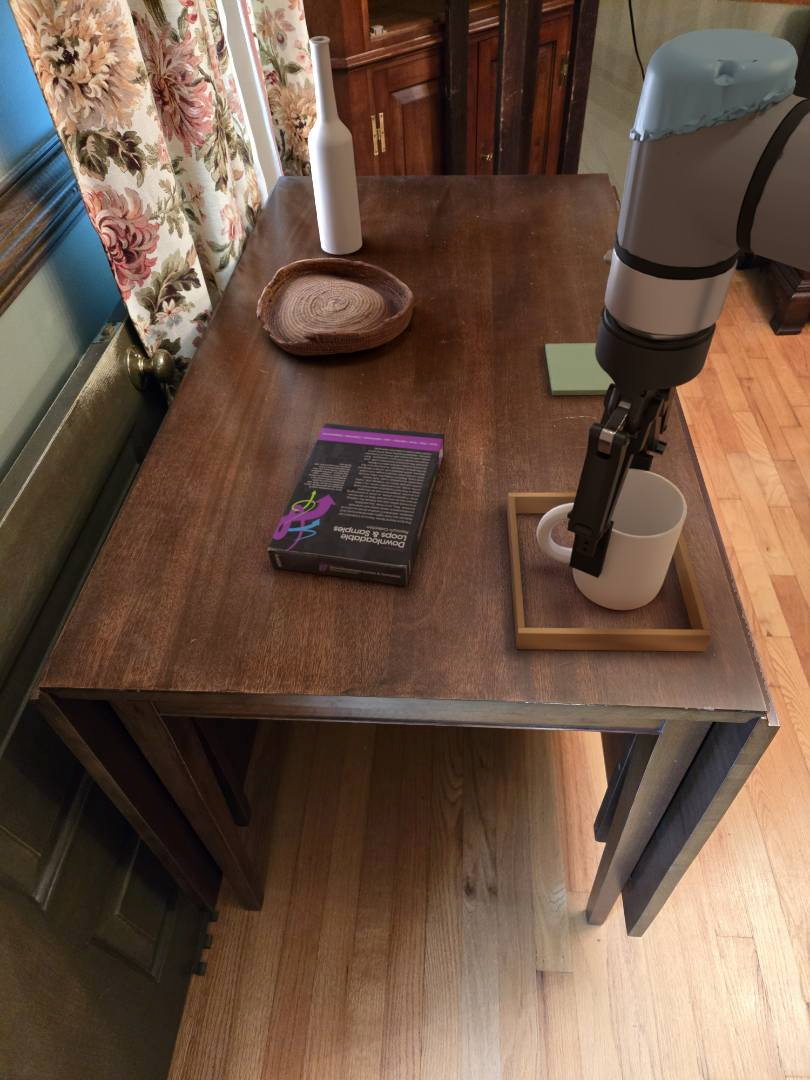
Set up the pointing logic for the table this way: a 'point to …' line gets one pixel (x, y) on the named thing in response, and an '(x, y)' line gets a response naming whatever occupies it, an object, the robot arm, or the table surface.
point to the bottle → (332, 163)
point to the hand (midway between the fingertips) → (605, 535)
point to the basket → (333, 307)
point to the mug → (628, 542)
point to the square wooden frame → (603, 637)
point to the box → (360, 504)
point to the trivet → (575, 370)
